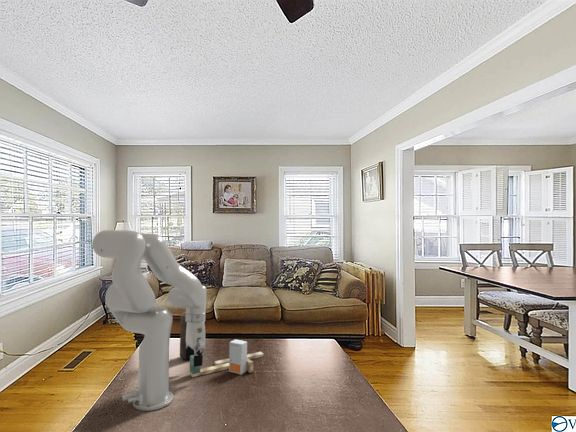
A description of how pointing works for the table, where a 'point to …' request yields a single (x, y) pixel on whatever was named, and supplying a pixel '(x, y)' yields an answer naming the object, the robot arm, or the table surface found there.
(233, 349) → the skincare box
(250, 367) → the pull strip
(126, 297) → the robot arm
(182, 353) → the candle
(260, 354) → the broken strip
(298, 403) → the table surface
